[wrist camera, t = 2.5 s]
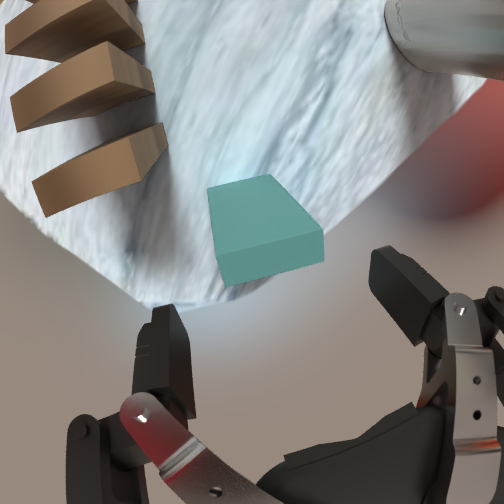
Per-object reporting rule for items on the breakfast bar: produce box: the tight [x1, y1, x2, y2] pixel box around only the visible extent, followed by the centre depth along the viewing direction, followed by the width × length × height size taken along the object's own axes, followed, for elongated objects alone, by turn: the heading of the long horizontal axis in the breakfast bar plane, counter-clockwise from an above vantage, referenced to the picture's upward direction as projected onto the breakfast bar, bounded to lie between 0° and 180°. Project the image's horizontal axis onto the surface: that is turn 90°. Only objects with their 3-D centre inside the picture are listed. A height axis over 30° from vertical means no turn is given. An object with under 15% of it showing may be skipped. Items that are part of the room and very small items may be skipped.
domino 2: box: [10, 41, 155, 133], centre depth 11 cm, size 5×2×10 cm, turn 100°
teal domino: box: [207, 174, 324, 287], centre depth 17 cm, size 5×2×10 cm, turn 100°
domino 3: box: [32, 123, 168, 218], centre depth 13 cm, size 5×2×10 cm, turn 100°
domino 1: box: [5, 0, 145, 63], centre depth 9 cm, size 5×2×10 cm, turn 100°
